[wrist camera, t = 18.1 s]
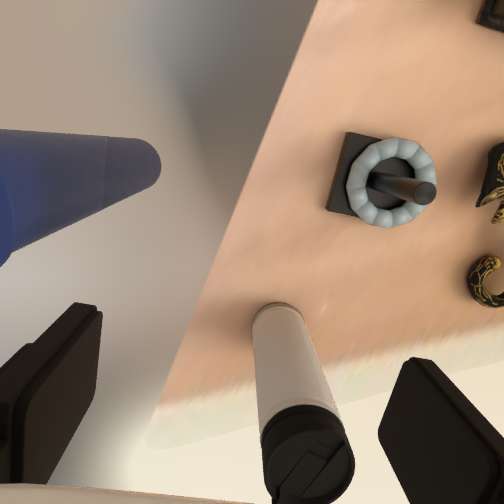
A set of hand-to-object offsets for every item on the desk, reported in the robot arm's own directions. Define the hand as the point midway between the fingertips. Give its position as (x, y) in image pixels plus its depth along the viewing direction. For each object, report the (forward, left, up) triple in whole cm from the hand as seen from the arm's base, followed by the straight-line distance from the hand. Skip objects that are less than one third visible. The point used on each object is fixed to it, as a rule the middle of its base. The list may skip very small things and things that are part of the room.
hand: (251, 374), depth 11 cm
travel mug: (+7, -13, -28) cm, 32 cm away
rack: (+13, +6, -28) cm, 31 cm away
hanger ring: (+14, +6, -26) cm, 30 cm away
